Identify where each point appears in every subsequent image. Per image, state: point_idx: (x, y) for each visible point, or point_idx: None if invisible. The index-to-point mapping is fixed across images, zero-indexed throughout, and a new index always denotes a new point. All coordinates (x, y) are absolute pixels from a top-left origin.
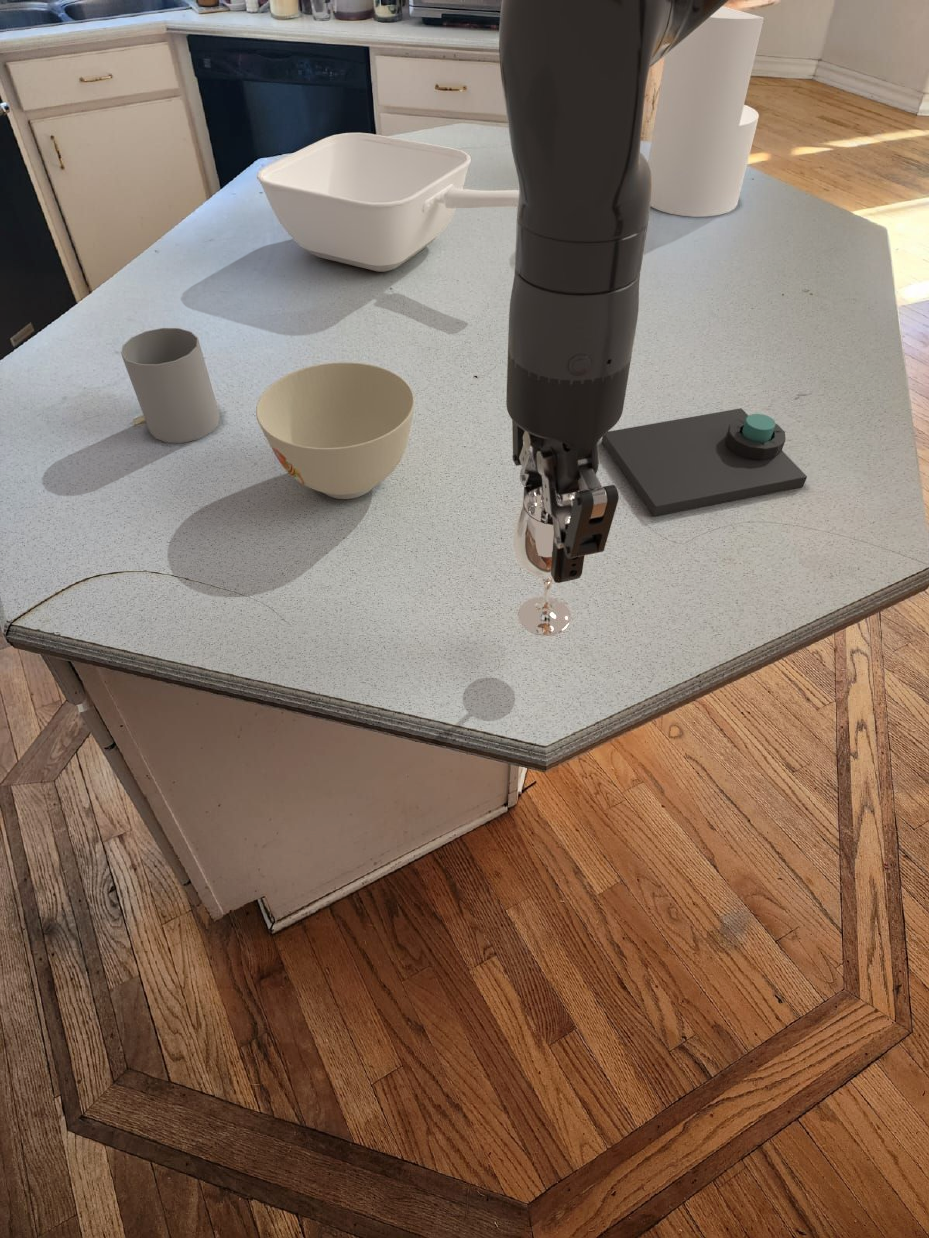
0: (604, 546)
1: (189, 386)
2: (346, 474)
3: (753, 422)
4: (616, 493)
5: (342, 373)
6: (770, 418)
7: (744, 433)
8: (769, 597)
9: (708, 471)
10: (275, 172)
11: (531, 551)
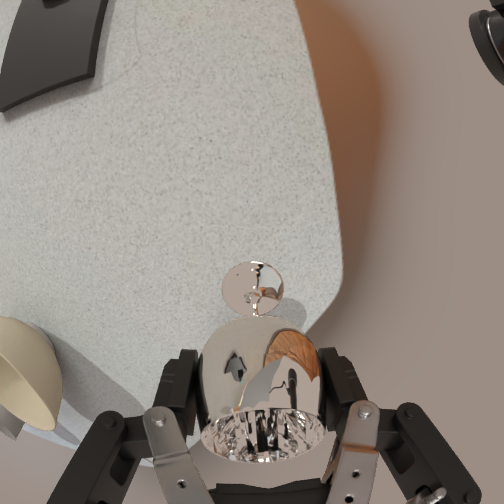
0: (425, 414)
1: (10, 412)
2: (56, 386)
3: None
4: (478, 501)
5: None
6: None
7: None
8: (248, 8)
9: (68, 16)
10: None
11: (293, 418)
